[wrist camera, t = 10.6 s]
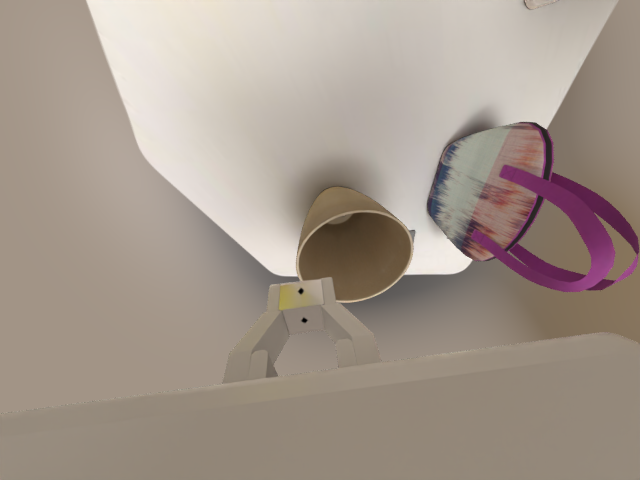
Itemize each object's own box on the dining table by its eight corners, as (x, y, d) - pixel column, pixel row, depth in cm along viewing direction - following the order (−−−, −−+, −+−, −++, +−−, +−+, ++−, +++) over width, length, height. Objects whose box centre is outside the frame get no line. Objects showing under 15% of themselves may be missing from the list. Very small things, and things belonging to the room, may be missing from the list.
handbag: (464, 229, 49) (585, 341, 29) (417, 231, 48) (509, 347, 28) (514, 112, 37) (785, 161, 17) (453, 111, 36) (661, 162, 16)
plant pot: (316, 250, 49) (326, 316, 36) (278, 189, 41) (272, 245, 28) (386, 220, 46) (424, 278, 33) (360, 148, 38) (397, 187, 25)
